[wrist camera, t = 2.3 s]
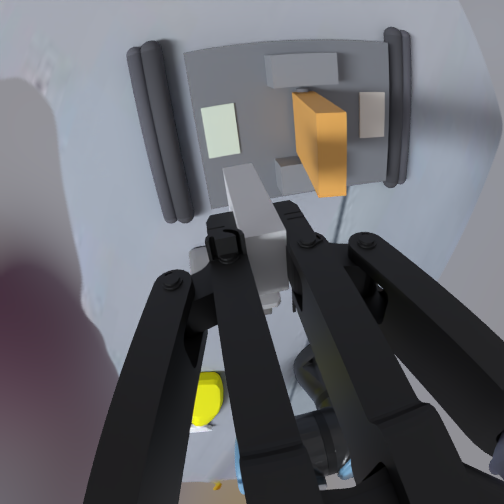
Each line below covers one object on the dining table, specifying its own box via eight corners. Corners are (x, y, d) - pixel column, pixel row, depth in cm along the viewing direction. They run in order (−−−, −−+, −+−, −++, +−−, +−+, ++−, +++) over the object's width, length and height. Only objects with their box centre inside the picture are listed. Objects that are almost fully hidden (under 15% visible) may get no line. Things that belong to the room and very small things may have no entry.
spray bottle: (223, 368, 55) (220, 424, 69) (161, 371, 52) (174, 426, 66) (225, 382, 52) (221, 434, 66) (162, 385, 50) (175, 437, 64)
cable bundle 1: (195, 215, 37) (196, 224, 35) (166, 221, 36) (165, 230, 35) (160, 39, 25) (158, 37, 23) (126, 47, 25) (122, 47, 23)
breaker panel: (373, 171, 37) (396, 189, 33) (209, 197, 36) (213, 220, 31) (373, 42, 28) (400, 43, 23) (184, 53, 26) (182, 52, 22)
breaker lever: (315, 151, 31) (345, 199, 22) (295, 152, 31) (318, 201, 22) (311, 86, 27) (346, 107, 18) (290, 88, 27) (315, 108, 18)
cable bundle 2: (400, 181, 39) (409, 188, 37) (379, 184, 38) (387, 191, 37) (404, 29, 27) (414, 29, 25) (379, 26, 27) (389, 26, 25)
